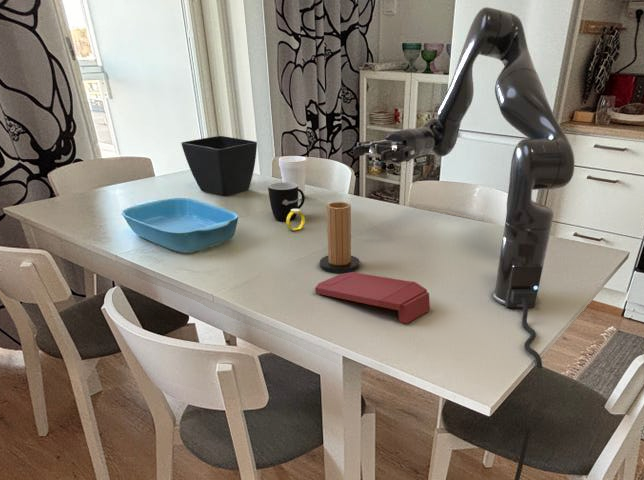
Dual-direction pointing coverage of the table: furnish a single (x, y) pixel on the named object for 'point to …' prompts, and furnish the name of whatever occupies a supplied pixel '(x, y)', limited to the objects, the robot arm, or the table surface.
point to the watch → (290, 217)
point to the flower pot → (221, 163)
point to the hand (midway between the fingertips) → (367, 154)
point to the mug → (284, 199)
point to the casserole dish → (182, 223)
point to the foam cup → (294, 171)
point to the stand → (339, 266)
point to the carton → (379, 293)
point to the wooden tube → (339, 233)
